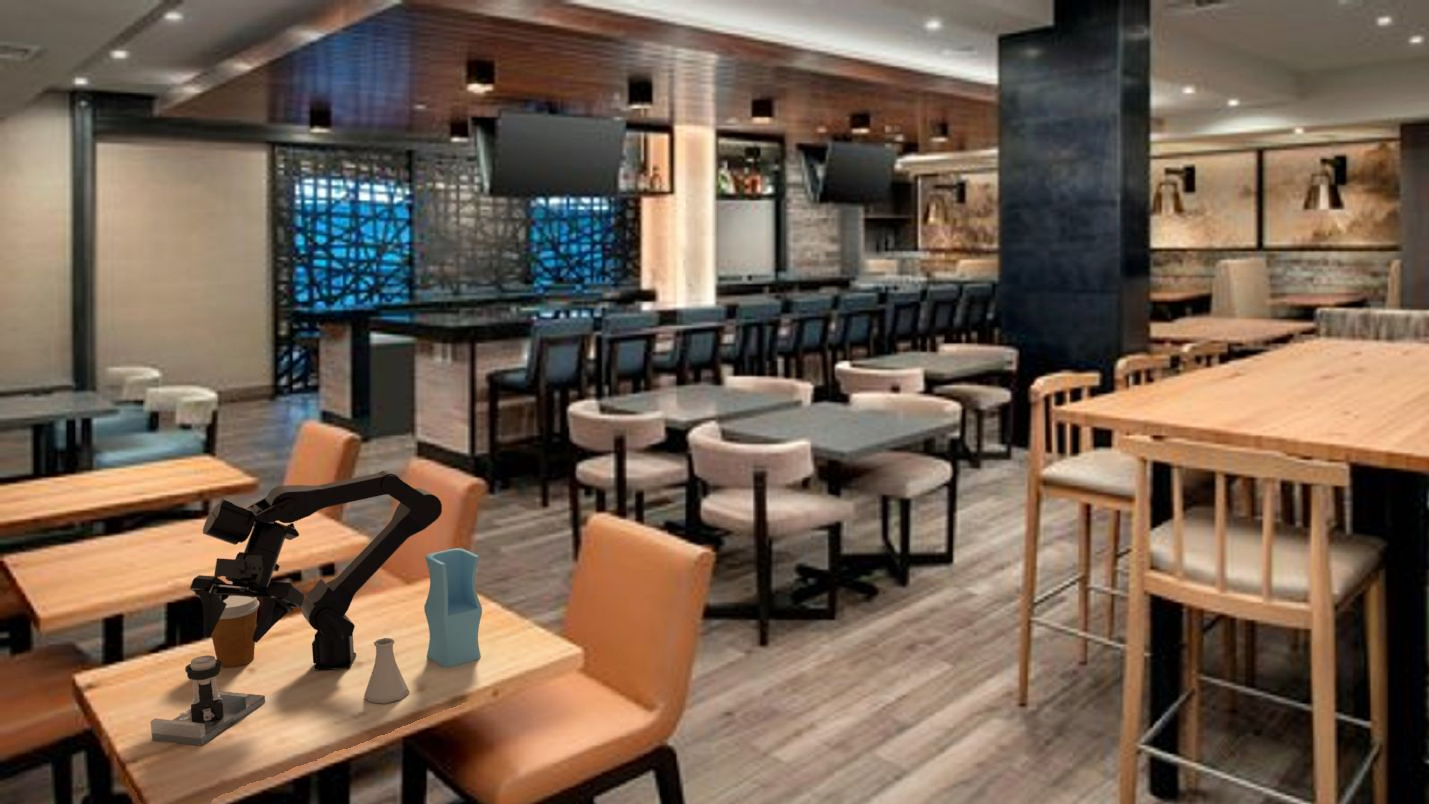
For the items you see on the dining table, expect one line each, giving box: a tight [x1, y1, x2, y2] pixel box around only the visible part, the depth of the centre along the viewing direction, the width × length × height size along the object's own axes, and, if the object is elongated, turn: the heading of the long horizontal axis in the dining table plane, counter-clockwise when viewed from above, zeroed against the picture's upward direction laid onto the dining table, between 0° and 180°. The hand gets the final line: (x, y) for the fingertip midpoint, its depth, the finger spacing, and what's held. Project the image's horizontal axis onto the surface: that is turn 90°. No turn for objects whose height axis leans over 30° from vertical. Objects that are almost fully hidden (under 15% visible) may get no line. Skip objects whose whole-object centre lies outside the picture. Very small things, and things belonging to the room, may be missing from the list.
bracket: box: [150, 690, 266, 747], centre depth 172 cm, size 16×9×3 cm, turn 168°
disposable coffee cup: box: [210, 595, 260, 668], centre depth 196 cm, size 10×10×12 cm
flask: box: [363, 637, 410, 704], centre depth 181 cm, size 7×7×10 cm
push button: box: [179, 655, 224, 722], centre depth 170 cm, size 7×5×10 cm
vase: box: [423, 547, 483, 668], centre depth 197 cm, size 8×8×20 cm
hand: (230, 639), depth 177 cm, fingers open, 9 cm apart
